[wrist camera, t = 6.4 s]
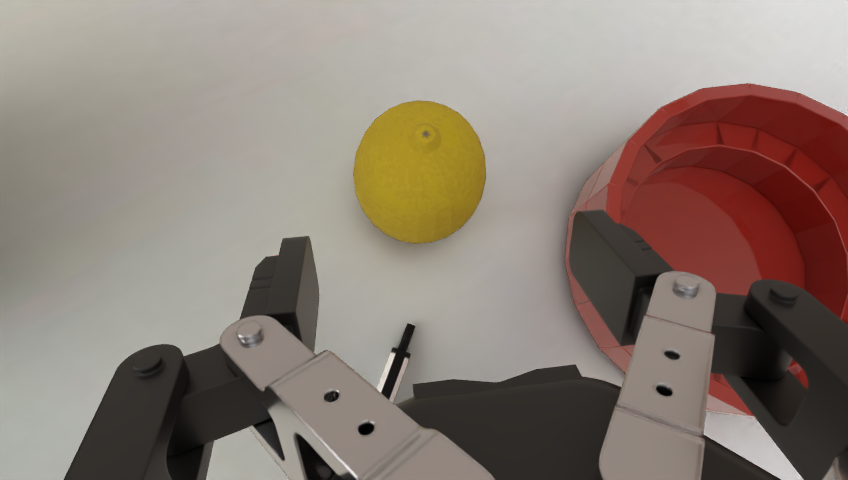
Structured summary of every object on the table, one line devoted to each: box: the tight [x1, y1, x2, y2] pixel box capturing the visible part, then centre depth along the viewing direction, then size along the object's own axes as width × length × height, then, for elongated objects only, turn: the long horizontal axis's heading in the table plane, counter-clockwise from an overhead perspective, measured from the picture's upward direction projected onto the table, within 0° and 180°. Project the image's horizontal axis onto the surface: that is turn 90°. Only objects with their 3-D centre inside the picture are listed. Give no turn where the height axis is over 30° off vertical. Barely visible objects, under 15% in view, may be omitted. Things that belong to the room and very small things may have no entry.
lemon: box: [353, 101, 486, 243], centre depth 21 cm, size 6×6×8 cm
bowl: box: [565, 83, 848, 419], centre depth 22 cm, size 14×14×6 cm
